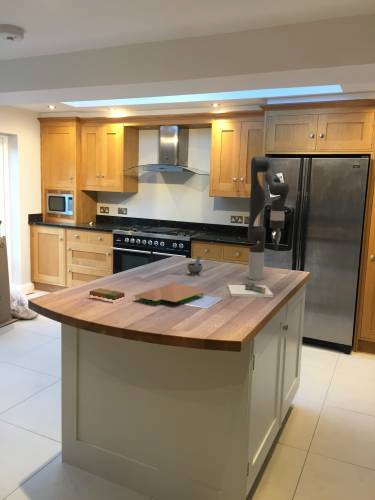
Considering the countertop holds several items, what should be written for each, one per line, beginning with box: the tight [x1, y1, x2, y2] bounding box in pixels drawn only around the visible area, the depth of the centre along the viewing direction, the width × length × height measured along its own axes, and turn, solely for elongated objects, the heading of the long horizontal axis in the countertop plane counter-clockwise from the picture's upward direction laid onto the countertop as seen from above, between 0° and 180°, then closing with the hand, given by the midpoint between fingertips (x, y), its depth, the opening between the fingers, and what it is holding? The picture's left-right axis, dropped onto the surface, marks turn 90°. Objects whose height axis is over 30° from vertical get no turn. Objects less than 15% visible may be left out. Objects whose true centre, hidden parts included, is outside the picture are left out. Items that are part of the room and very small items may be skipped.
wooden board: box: [132, 282, 206, 305], centre depth 218 cm, size 23×33×8 cm
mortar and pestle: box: [186, 255, 203, 276], centre depth 276 cm, size 11×9×12 cm
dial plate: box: [227, 284, 274, 298], centre depth 235 cm, size 20×22×2 cm
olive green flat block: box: [89, 287, 125, 300], centre depth 215 cm, size 8×16×4 cm, turn 61°
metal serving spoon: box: [244, 282, 266, 293], centre depth 231 cm, size 14×5×3 cm, turn 35°
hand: (275, 250), depth 236 cm, fingers closed
